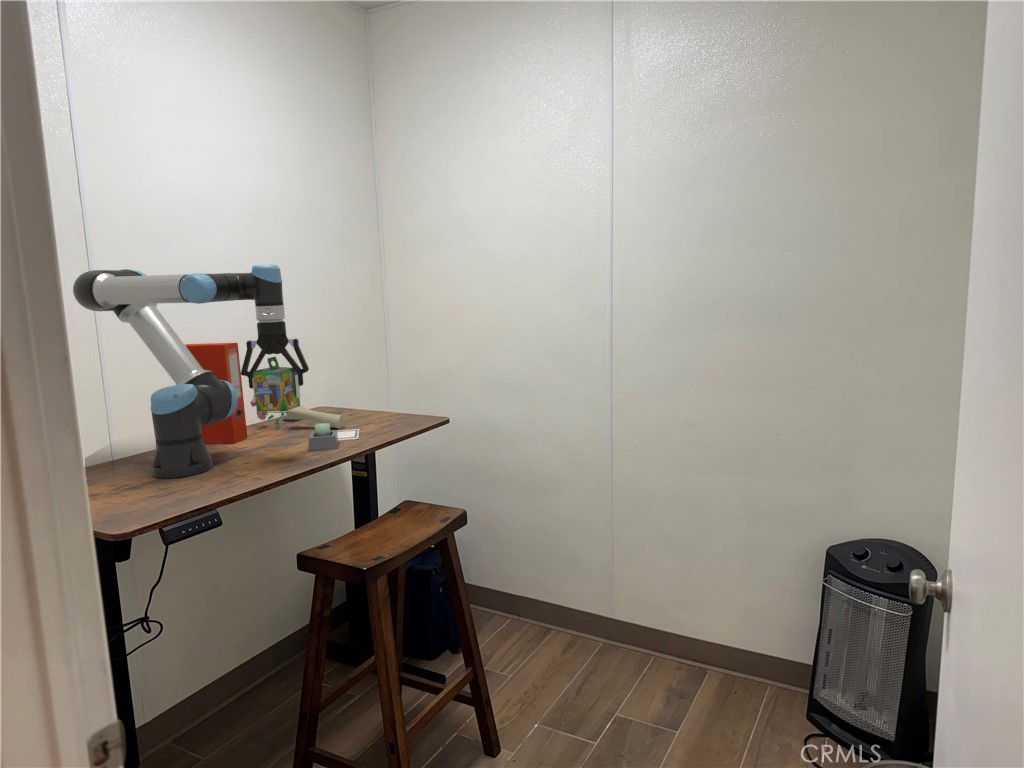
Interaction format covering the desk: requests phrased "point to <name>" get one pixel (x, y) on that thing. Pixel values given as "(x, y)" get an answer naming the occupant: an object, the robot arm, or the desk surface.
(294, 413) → the flower vase
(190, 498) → the desk surface
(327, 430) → the button
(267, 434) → the desk surface
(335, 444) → the button housing
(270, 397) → the chalk box
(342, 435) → the white bordered panel
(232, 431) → the file binder
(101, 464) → the desk surface
